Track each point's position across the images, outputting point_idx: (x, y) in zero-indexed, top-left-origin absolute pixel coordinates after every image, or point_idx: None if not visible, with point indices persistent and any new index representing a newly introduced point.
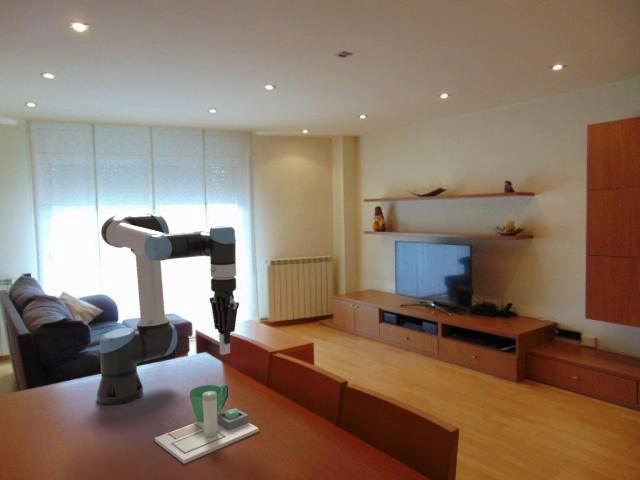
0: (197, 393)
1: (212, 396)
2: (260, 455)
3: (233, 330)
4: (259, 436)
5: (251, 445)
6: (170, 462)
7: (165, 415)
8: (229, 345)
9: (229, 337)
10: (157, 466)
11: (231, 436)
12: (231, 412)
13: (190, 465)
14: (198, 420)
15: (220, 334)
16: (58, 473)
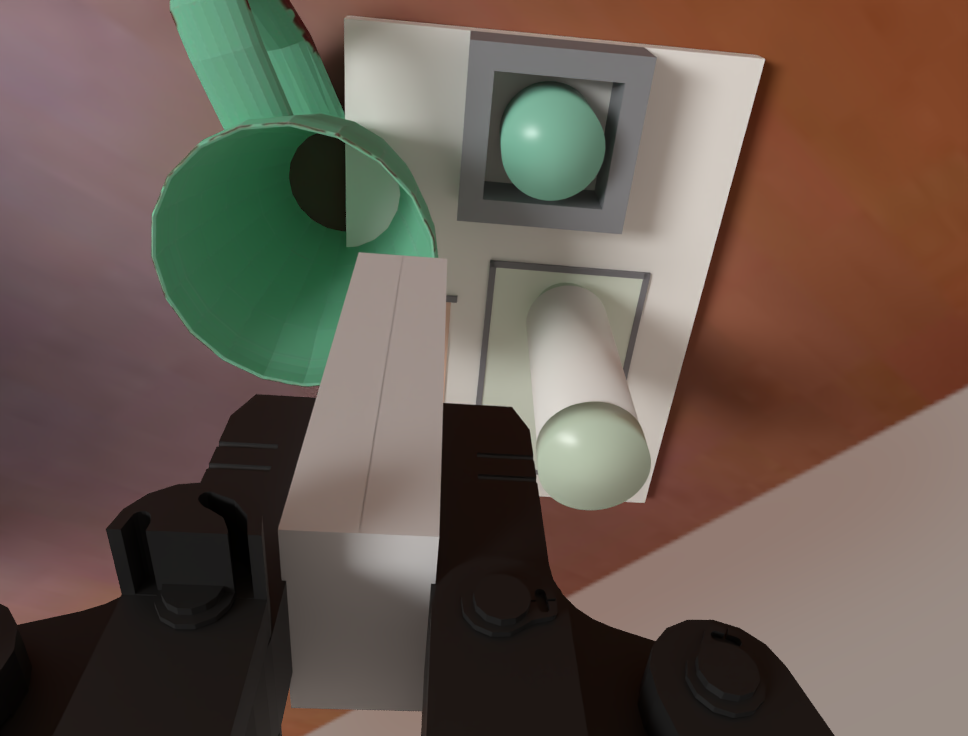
0: (183, 246)
1: (647, 473)
2: (937, 249)
3: (779, 708)
4: (804, 101)
5: (825, 209)
6: (582, 513)
7: (71, 299)
8: (442, 334)
9: (538, 520)
10: (563, 551)
11: (679, 247)
12: (558, 159)
13: (676, 482)
14: (342, 255)
15: (342, 680)
16: (325, 720)
